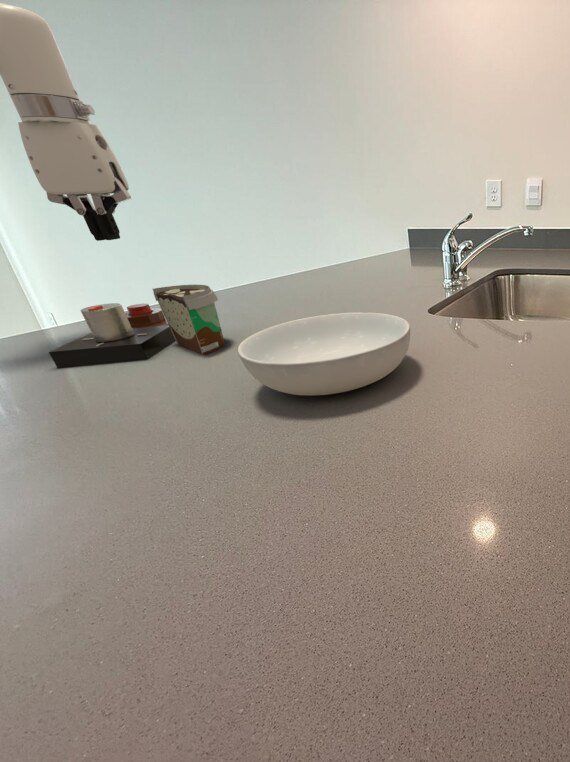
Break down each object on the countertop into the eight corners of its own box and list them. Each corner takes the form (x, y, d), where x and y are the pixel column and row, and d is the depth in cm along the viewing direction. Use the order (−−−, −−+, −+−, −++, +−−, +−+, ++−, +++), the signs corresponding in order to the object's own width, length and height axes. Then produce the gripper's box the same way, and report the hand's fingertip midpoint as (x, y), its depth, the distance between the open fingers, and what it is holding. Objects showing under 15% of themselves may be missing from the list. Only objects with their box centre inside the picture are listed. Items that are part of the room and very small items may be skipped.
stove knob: (108, 333, 68) (92, 302, 66) (140, 331, 69) (127, 300, 67) (88, 343, 64) (71, 310, 61) (123, 340, 65) (107, 307, 62)
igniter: (105, 342, 73) (95, 321, 72) (131, 329, 80) (122, 309, 79) (168, 337, 75) (159, 316, 74) (188, 324, 82) (181, 305, 81)
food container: (247, 346, 70) (228, 288, 65) (208, 358, 65) (184, 296, 61) (213, 335, 76) (193, 281, 71) (174, 345, 71) (150, 288, 67)
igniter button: (126, 317, 75) (122, 308, 74) (136, 313, 77) (132, 304, 77) (146, 316, 75) (142, 307, 74) (156, 311, 78) (152, 302, 77)
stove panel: (58, 370, 62) (47, 351, 61) (101, 347, 71) (92, 330, 70) (148, 361, 65) (139, 342, 63) (179, 340, 73) (172, 324, 72)
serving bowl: (446, 375, 57) (441, 328, 54) (291, 438, 43) (273, 380, 40) (369, 342, 70) (362, 303, 67) (232, 383, 56) (215, 336, 53)
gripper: (125, 117, 67) (169, 235, 75) (13, 116, 64) (72, 239, 72) (94, 109, 60) (146, 239, 69) (-31, 108, 57) (38, 244, 66)
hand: (108, 239), depth 70 cm, fingers closed
